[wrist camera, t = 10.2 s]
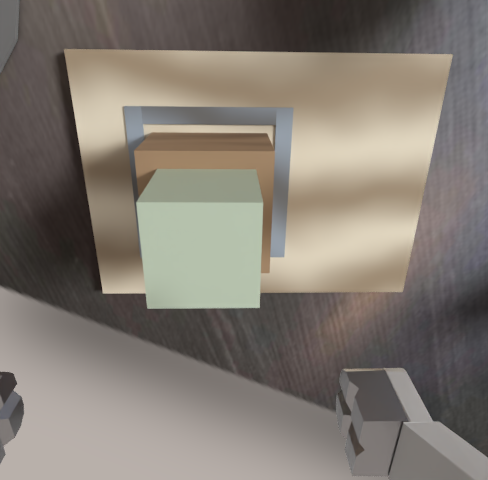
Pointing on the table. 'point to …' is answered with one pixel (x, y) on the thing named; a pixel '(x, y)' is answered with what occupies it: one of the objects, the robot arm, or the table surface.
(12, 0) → the cup
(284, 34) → the table surface
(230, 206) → the top block
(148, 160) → the base block
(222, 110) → the build board
